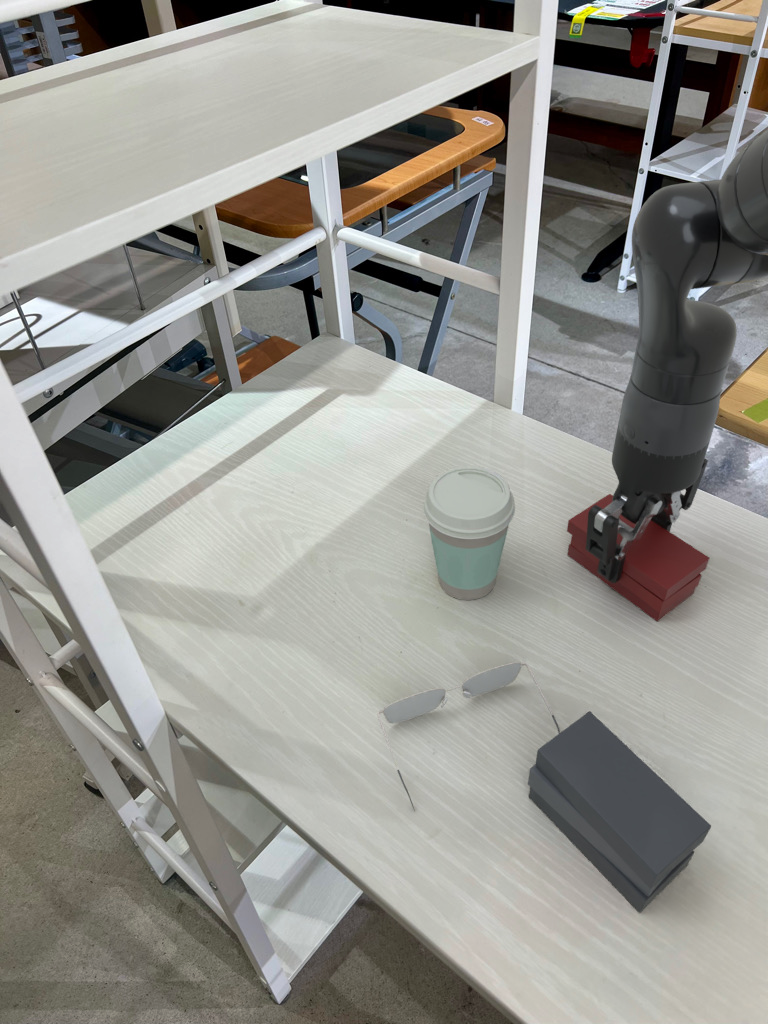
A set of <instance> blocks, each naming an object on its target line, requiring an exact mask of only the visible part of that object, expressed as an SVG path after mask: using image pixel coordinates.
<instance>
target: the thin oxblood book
mask: <svg viewBox="0 0 768 1024" xmlns="http://www.w3.org/2000/svg"><path fill="white" fill-rule="evenodd" d="M613 495H614V494H611V493H608V494H607V495H606V496H604V497H603V498H601V499H599V500H598V501H596V502H594V503H592V505H590V506H588V507H587V508H585V509H584V510H582V511H581V512H579V513H577V514H576V515H574V516H573V517H571V518H569V519H568V520H567V527H566V532H567V533H568V534H570V535H571V536H572V535H573V536H574V537H575V538H577V539H578V540H580V541H581V542H582V543H584V544H585V545H586V539H587V524H588V513H589V511H590V509H591V508H592V507H593V506H594V505H597V506H599V507H600V508H602V509H604V508H605V507H607V506H608V505H609V504H611V503H612V498H613ZM619 518H620V520H621V521H622V522H624V523H625V524H627V525H628V526H630V527H631V528H633V529H634V527H635V525H636V524H634V523H632V522H630V521H629V520H627V519H626V518H624V517H623V516H622V515H621V514H620V516H619ZM622 539H623V537H622V535H620V534H619V533H618V534H617V544H618V545H620V543H621V541H622ZM625 556H626V558H625V561H624V565H623V570H622V571H623V572H624V573H626V574H627V575H629V576H630V577H632V578H633V579H634V580H636V581H637V582H639V583H640V584H641V585H643V586H644V587H646V588H647V589H648V590H650V591H651V592H653V593H654V594H655V595H657V596H658V597H660V598H661V599H662V600H664V601H665V600H666V599H667V598H669V597H670V596H671V595H673V594H674V593H675V592H676V591H678V590H679V589H680V588H682V587H683V586H684V585H686V584H687V583H688V582H690V581H691V580H692V579H693V578H695V577H696V576H697V575H699V574H702V573H703V572H704V571H706V569H707V567H708V564H709V561H710V556H708V555H706V554H705V553H703V552H702V551H700V550H698V549H697V548H695V547H694V546H692V545H691V544H689V543H688V542H686V541H684V540H683V539H681V538H679V537H678V536H677V535H676V534H674V533H672V532H671V531H670V532H669V531H667V530H665V529H664V528H662V527H661V526H659V525H658V524H656V523H655V522H653V521H651V520H650V522H649V524H648V525H647V527H646V529H645V531H644V533H643V535H642V536H641V538H640V539H639V540H634V541H633V542H632V544H631V546H630V548H629V549H628V551H627V553H626V555H625Z"/></svg>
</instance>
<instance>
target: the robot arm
mask: <svg viewBox="0 0 768 1024" xmlns="http://www.w3.org/2000/svg"><path fill="white" fill-rule="evenodd" d="M631 254H632V259H633V260H632V261H633V268H634V274H635V283H636V292H637V306H638V307H637V309H638V337H637V342H636V346H635V351H634V357H633V363H632V368H631V371H630V372H631V373H630V377H629V380H628V383H627V385H626V389H625V391H624V394H623V398H622V401H621V402H622V404H621V408H620V414H619V418H618V424H617V428H616V433H615V438H614V444H613V445H614V446H613V449H612V453H611V454H612V455H611V465H612V468H613V471H614V473H615V475H616V478H617V481H618V484H617V486H616V488H615V491H614V493H613V494H612V495H613V498H612V503H611V504H609V505H608V506H607V507H605V508H604V509H602V508H600V507H599V506H597V505H594V506H593V507H592V508H591V509H590V511H589V513H588V524H587V539H586V550H587V551H588V552H590V553H591V554H592V555H594V556H595V557H596V558H598V559H599V565H598V570H597V571H598V573H599V574H600V575H601V576H603V577H604V578H605V579H607V580H608V581H610V582H611V583H616V582H617V581H619V580H620V579H621V575H622V570H623V565H624V561H625V558H626V556H625V555H626V553H627V551H628V549H629V548H630V546H631V544H632V542H633V541H634V540H639V539H640V538H641V536H642V535H643V533H644V531H645V529H646V527H647V525H648V524H649V522H650V520H651V521H653V522H655V523H656V524H658V525H659V526H661V527H662V528H664V529H665V530H667V531H669V532H670V533H671V529H672V525H673V524H674V523H675V522H677V521H678V519H679V517H680V514H681V513H680V511H681V510H684V511H687V510H689V509H690V508H691V506H692V505H693V502H694V499H695V497H696V494H697V491H698V489H699V486H700V484H701V481H702V478H703V475H704V474H705V471H706V468H707V465H708V462H709V460H708V459H707V458H706V455H707V452H708V448H709V445H710V442H711V439H712V435H713V432H714V429H715V426H716V422H717V419H718V414H719V409H720V402H721V396H722V395H721V394H722V390H723V387H724V383H725V380H726V377H727V373H728V370H729V366H730V363H731V359H732V356H733V353H734V350H735V347H736V341H737V335H738V334H737V332H738V328H737V323H736V321H735V319H734V317H733V316H732V315H731V314H730V313H729V312H728V311H727V310H725V309H724V308H722V307H721V306H718V305H715V304H713V303H709V302H705V301H700V300H695V299H688V296H689V294H690V292H691V290H695V289H696V290H697V289H706V288H714V287H720V286H727V285H737V284H745V283H751V282H757V281H760V280H763V279H766V278H768V128H767V129H766V130H765V131H763V132H762V133H761V134H760V135H758V136H757V137H756V138H754V139H753V140H752V141H751V142H749V143H748V144H747V145H746V146H744V148H742V149H741V150H740V152H739V153H737V154H736V156H735V157H733V159H732V160H731V162H730V163H729V164H728V165H727V167H726V169H725V171H724V172H723V174H722V176H721V177H720V179H713V180H702V181H694V182H693V181H692V182H684V183H683V182H682V183H676V184H670V185H666V186H663V187H661V188H659V189H657V190H656V191H655V192H653V194H651V195H650V196H649V197H648V198H647V199H646V201H645V202H644V203H643V204H642V206H641V208H640V209H639V211H638V213H637V215H636V217H635V220H634V222H633V227H632V231H631ZM684 490H685V492H684V493H682V492H681V491H684ZM620 514H621V515H622V516H623V517H624V518H626V519H627V520H629V521H630V522H632V523H634V524H636V525H635V527H634V529H633V528H631V527H630V526H628V525H627V524H625V523H624V522H622V521H621V520H620V518H619V516H620ZM618 533H619V534H620V535H622V537H623V539H622V541H621V543H620V545H618V544H617V534H618Z"/></svg>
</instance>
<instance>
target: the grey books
mask: <svg viewBox="0 0 768 1024" xmlns="http://www.w3.org/2000/svg"><path fill="white" fill-rule="evenodd" d="M527 785H528V786H529V792H528V798H529V799H530V800H531V802H533V804H535V805H536V807H537V808H539V810H540V811H541V813H543V814H544V815H545V816H546V817H547V818H548V819H549V820H550V821H551V822H552V823H553V825H554V826H555V827H556V828H558V829H559V831H560V832H561V833H562V834H563V835H564V836H565V837H566V838H567V839H568V840H569V841H570V842H571V843H572V844H573V845H574V846H575V847H576V849H578V851H580V853H581V854H582V855H583V856H584V857H585V858H586V859H587V861H588V862H590V863H591V864H592V865H593V866H594V868H595V869H597V871H599V873H601V875H602V876H603V877H604V878H605V879H606V880H607V881H608V882H609V883H610V884H611V885H612V886H613V888H614V889H616V890H617V892H618V893H620V894H621V896H622V897H623V898H624V899H625V900H626V901H627V902H628V903H629V904H630V905H631V906H632V907H633V908H634V909H635V910H636V911H637V912H638V914H641V913H642V912H643V911H645V909H646V908H647V907H648V906H649V905H651V903H653V901H654V900H655V899H656V898H657V897H658V896H659V895H660V894H661V893H662V892H663V891H664V890H665V889H666V888H667V887H668V886H669V885H670V884H671V883H672V882H673V881H674V880H675V879H676V878H677V877H678V876H679V875H680V874H681V873H682V872H683V871H684V870H685V869H686V868H687V867H688V865H689V863H690V862H691V860H692V858H693V856H694V854H695V850H696V849H697V848H698V847H699V846H700V845H701V844H702V843H703V842H704V841H705V839H706V837H707V836H708V833H709V832H710V830H711V828H712V825H711V824H710V823H709V822H708V821H707V820H706V819H705V818H704V817H703V816H702V815H701V814H699V813H698V812H697V810H695V809H694V808H693V807H692V806H691V805H690V804H689V803H688V802H687V801H685V799H683V798H682V797H681V796H680V795H679V794H678V793H677V791H675V790H674V789H673V788H672V787H671V786H670V785H669V784H668V783H666V782H665V781H664V779H662V778H661V777H660V776H659V774H657V773H656V772H655V771H654V770H653V769H652V768H651V767H650V766H648V764H646V762H644V760H643V759H641V758H640V757H639V756H638V755H637V754H636V753H635V752H634V751H633V750H632V749H630V747H629V746H627V744H625V742H623V741H622V740H621V739H620V738H619V737H618V736H617V735H616V734H615V733H614V732H612V731H611V729H610V728H608V727H607V726H606V725H605V724H604V723H603V722H602V721H601V720H600V719H599V718H598V717H597V716H596V715H595V714H593V713H592V712H591V711H587V712H586V713H585V714H584V715H582V716H581V717H580V718H579V719H577V720H575V721H574V722H573V723H571V724H570V725H569V726H568V727H566V728H565V729H564V730H562V731H560V733H559V732H558V734H557V735H556V736H554V737H552V739H550V740H549V741H547V742H546V743H544V744H543V745H542V746H541V747H539V748H538V749H537V752H536V758H535V763H534V765H532V766H531V767H530V768H529V772H528V779H527Z"/></svg>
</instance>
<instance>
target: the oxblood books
mask: <svg viewBox="0 0 768 1024" xmlns="http://www.w3.org/2000/svg"><path fill="white" fill-rule="evenodd" d="M567 556H568V557H569V558H570V559H572V560H573V561H574V562H576V563H577V564H578V565H580V566H581V567H583V568H584V569H585V570H586V571H588V572H589V573H591V574H592V575H593V576H595V577H596V578H598V579H599V580H600V581H601V582H603V583H604V584H606V585H607V586H608V587H610V588H611V589H612V590H614V591H615V592H616V593H618V594H619V595H620V596H622V597H623V598H625V599H626V600H627V601H629V602H630V603H631V604H633V606H635V607H637V608H638V609H639V610H641V611H642V612H643V613H645V614H646V615H647V616H648V617H650V618H652V619H653V620H654V621H656V622H659V621H660V620H661V619H663V618H664V617H666V615H668V614H669V613H670V612H672V611H673V610H674V609H676V608H677V607H678V606H679V605H681V604H683V602H684V601H686V600H688V599H689V598H690V597H691V596H692V595H694V594H695V591H696V588H697V587H698V586H699V584H700V582H701V578H702V576H703V575H702V573H700V574H699V575H697V576H696V577H695V578H693V579H692V580H691V581H690V582H688V583H687V584H686V585H684V586H683V587H682V588H680V589H679V590H678V591H676V592H675V593H674V594H673V595H671V596H670V597H669V598H667V599H666V600H665V601H664V600H662V599H661V598H660V597H658V596H657V595H655V594H654V593H653V592H651V591H650V590H648V589H647V588H646V587H644V586H643V585H641V584H640V583H639V582H637V581H636V580H634V579H633V578H632V577H630V576H629V575H627V574H626V573H624V572H623V571H622V575H621V579H620V580H619V581H617V582H616V583H611V582H610V581H608V580H607V579H605V578H604V577H603V576H601V575H600V574H599V573H598V571H597V570H598V565H599V559H598V558H596V557H595V556H594V555H592V554H591V553H590V552H588V551H587V550H586V545H585V544H584V543H582V542H581V541H580V540H578V539H577V538H575V537H574V536H573V535H571V539H570V543H569V544H568V549H567Z"/></svg>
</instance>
